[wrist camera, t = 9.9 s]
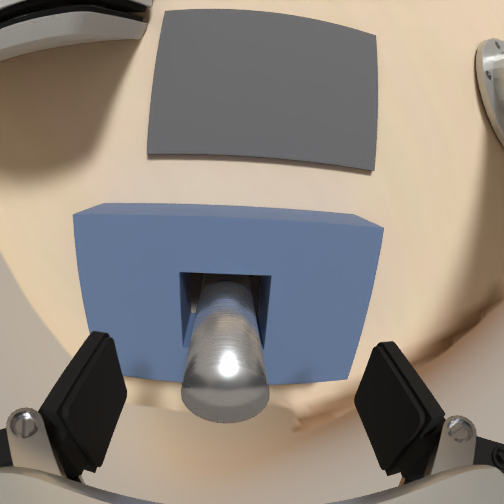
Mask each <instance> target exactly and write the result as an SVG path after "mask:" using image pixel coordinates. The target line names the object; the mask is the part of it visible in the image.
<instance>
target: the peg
mask: <svg viewBox="0 0 504 504" xmlns="http://www.w3.org/2000/svg"><path fill="white" fill-rule="evenodd" d="M181 396H182V400H183V402H184V404H185V405H186V407H187V408H188V409H189V410H190V411H191V412H192V413H194V414H195V415H197V416H199V417H200V418H203V419H205V420H208V421H212V422H217V423H236V422H241V421H245V420H247V419H250V418H252V417H254V416H255V415H257V414H259V413H260V412H261V411H262V410H263V409H264V408H265V406H266V405H267V403H268V400H269V388H268V382H267V377H266V371H265V366H264V360H263V354H262V349H261V343H260V337H259V332H258V326H257V320H256V315H255V309H254V303H253V297H252V291H251V286H250V280H249V276H248V275H243V274H216V273H205V275H204V278H203V282H202V287H201V292H200V296H199V301H198V306H197V311H196V315H195V320H194V325H193V330H192V335H191V340H190V346H189V351H188V356H187V361H186V367H185V372H184V378H183V383H182V389H181Z"/></svg>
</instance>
